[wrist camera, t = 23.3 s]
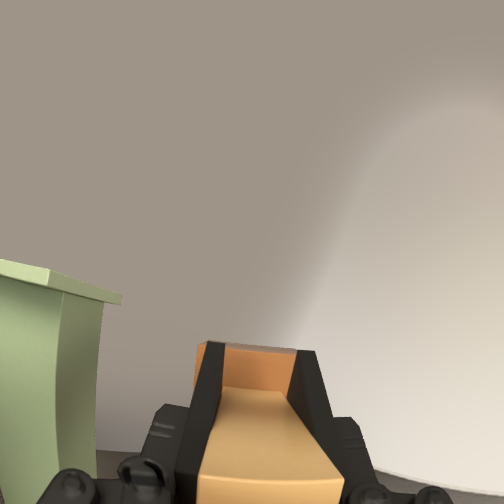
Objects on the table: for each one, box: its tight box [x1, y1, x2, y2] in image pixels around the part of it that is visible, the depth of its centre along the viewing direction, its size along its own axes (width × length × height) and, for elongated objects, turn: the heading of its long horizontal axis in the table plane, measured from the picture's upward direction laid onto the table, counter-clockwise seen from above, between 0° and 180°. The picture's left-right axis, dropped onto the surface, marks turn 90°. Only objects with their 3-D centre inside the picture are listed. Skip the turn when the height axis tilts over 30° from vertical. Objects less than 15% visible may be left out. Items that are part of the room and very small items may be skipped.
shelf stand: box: [0, 259, 122, 504], centre depth 16 cm, size 12×10×30 cm
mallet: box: [193, 340, 345, 504], centre depth 12 cm, size 16×6×5 cm, turn 2°
